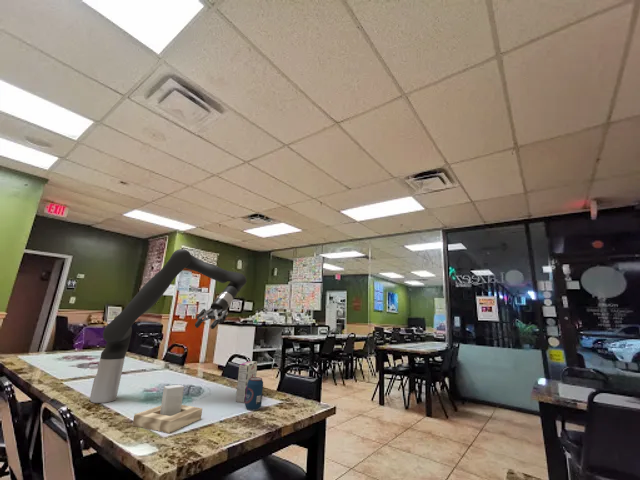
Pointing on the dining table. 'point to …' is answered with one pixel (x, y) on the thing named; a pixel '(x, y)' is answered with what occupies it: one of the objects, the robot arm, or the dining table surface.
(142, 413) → the socket block
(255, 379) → the soda can
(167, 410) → the skincare box
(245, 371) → the candy bar box
